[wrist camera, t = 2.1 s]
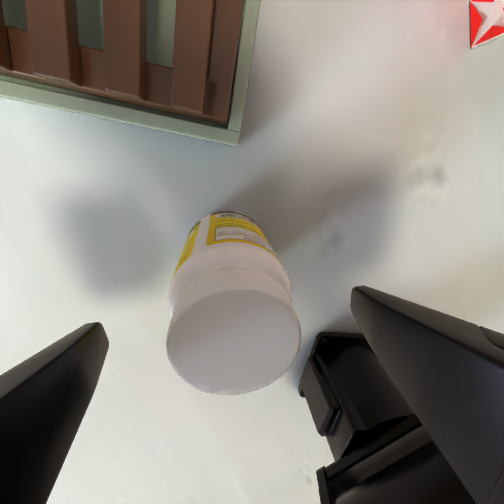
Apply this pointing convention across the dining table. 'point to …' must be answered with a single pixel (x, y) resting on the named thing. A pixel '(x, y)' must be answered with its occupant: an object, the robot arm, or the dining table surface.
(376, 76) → the dining table surface
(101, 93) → the drying rack
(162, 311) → the dining table surface
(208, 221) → the supplement bottle
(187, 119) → the drip tray
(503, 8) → the red and white cube
